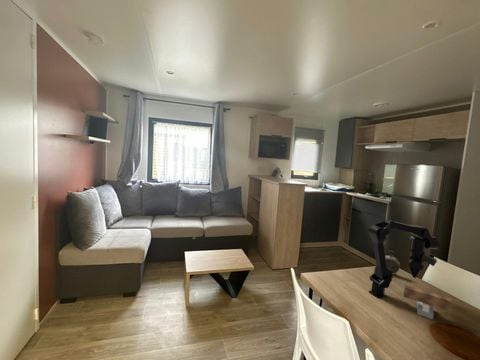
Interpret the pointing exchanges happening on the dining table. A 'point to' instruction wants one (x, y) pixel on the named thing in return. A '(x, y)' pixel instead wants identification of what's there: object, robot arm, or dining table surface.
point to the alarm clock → (392, 263)
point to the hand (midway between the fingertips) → (414, 274)
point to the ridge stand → (425, 310)
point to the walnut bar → (428, 298)
